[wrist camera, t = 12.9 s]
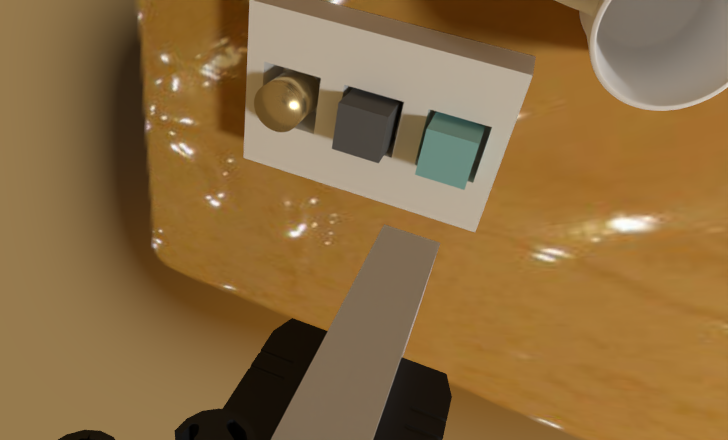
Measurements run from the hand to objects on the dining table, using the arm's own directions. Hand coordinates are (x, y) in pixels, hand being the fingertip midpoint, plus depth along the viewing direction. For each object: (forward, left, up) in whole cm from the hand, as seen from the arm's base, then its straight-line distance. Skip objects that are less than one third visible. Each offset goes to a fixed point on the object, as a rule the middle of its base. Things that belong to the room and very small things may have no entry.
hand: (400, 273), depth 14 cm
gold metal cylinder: (+9, -15, -30) cm, 34 cm away
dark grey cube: (+9, -8, -30) cm, 32 cm away
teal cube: (+9, -1, -30) cm, 31 cm away
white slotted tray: (+9, -8, -32) cm, 35 cm away
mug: (-4, +7, -33) cm, 34 cm away
